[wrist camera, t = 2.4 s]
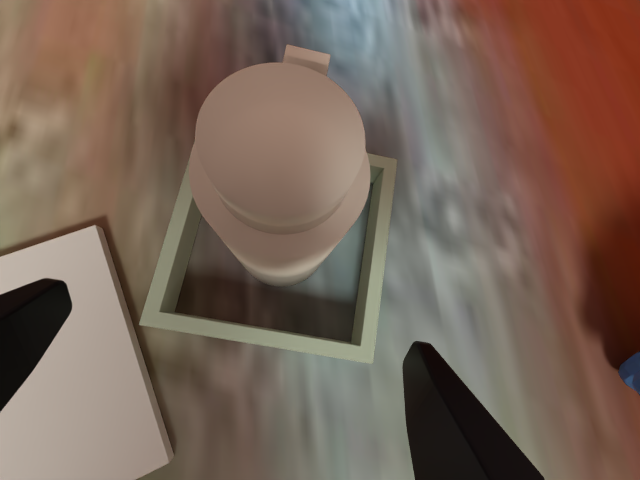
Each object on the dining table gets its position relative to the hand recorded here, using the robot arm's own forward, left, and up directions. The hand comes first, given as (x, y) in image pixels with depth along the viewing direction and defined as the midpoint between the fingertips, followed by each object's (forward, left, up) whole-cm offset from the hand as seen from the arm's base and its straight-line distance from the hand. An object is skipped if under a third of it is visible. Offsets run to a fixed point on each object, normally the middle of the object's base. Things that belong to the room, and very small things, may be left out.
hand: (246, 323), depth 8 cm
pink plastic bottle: (+4, -3, -12) cm, 13 cm away
